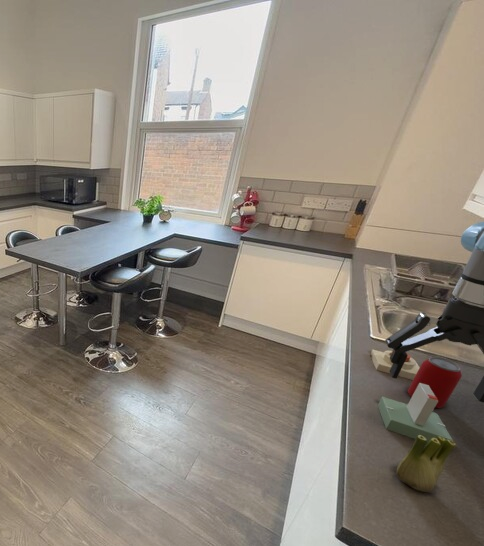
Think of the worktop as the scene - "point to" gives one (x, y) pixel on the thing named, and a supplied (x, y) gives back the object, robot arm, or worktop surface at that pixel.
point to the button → (406, 358)
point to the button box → (384, 363)
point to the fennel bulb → (424, 463)
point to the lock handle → (422, 404)
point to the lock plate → (410, 421)
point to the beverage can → (437, 378)
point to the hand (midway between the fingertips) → (433, 386)
